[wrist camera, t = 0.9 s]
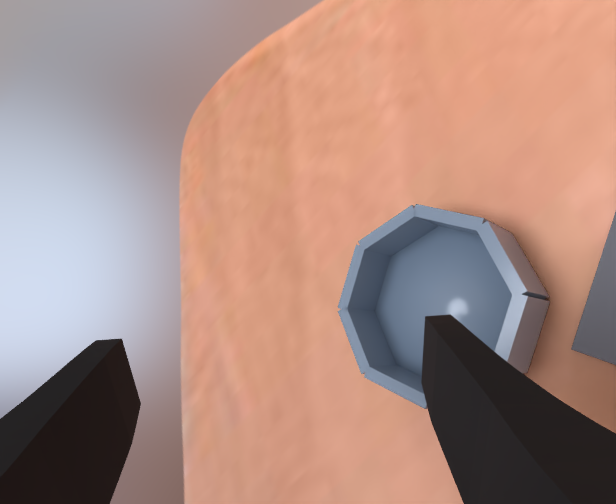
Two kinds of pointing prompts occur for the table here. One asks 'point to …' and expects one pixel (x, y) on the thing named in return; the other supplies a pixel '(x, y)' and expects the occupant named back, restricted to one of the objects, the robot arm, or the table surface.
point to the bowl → (437, 293)
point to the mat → (601, 308)
